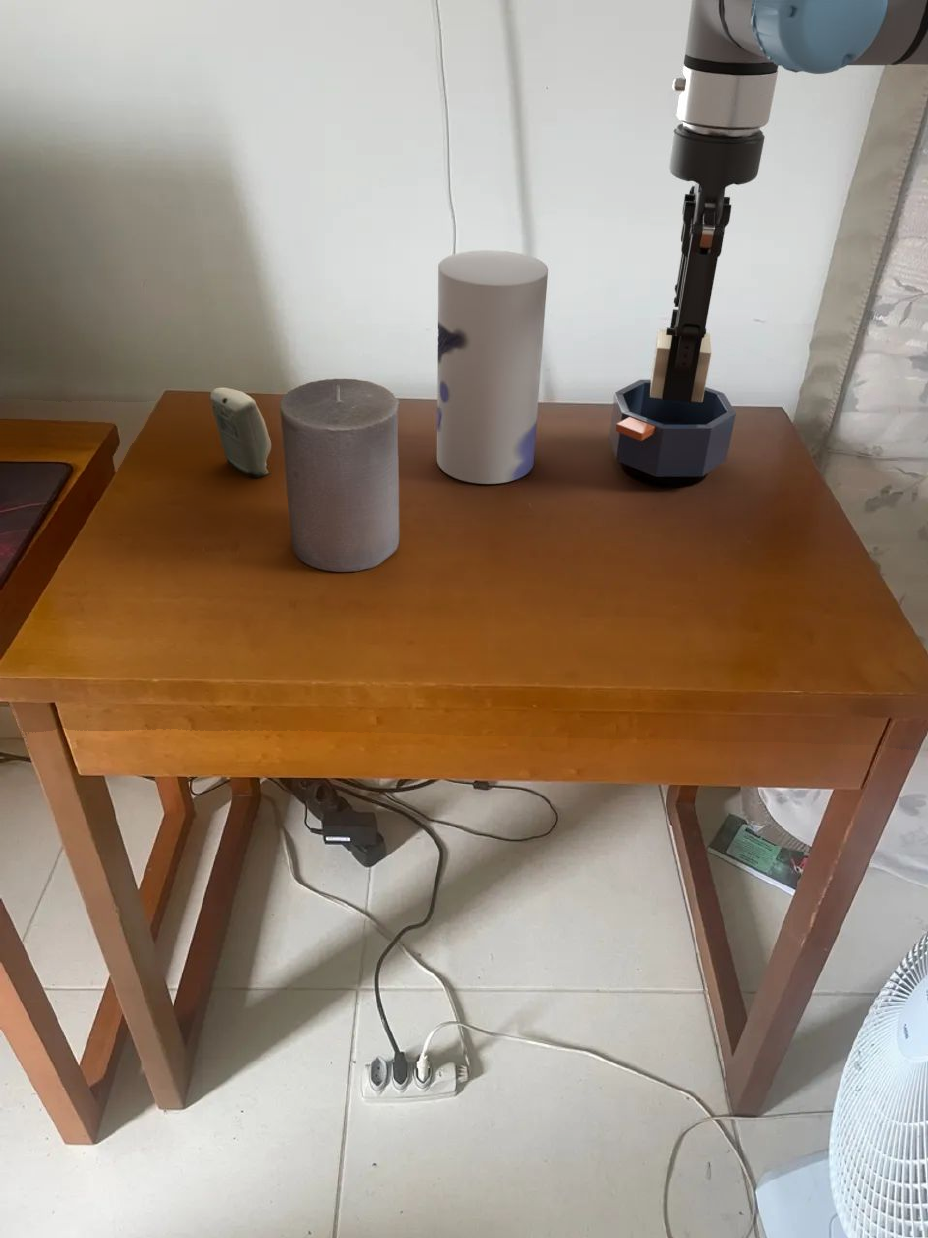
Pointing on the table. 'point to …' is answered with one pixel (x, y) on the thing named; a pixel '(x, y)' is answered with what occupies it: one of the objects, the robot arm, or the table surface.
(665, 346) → the block
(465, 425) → the container
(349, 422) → the pillar candle
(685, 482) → the bowl foot
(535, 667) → the table surface
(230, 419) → the off-white long rounded piece
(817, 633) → the table surface
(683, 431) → the bowl
